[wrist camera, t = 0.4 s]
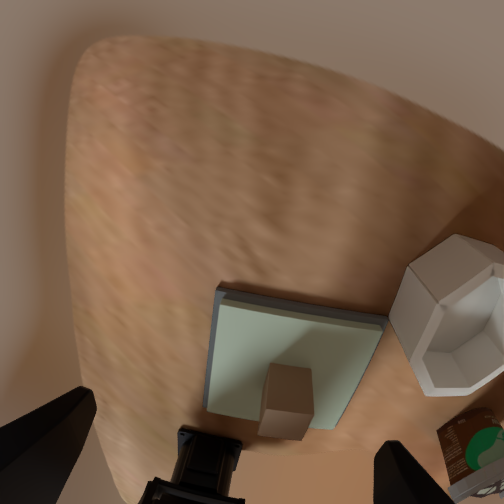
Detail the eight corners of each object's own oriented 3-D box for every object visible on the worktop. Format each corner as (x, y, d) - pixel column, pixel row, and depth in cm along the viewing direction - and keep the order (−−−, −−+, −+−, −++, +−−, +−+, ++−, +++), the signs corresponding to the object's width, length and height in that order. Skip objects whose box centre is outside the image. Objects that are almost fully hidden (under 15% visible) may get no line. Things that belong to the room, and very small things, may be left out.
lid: (332, 423, 24) (336, 470, 19) (208, 404, 25) (195, 452, 20) (379, 325, 20) (399, 374, 15) (222, 298, 21) (204, 346, 16)
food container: (514, 409, 24) (544, 466, 15) (480, 441, 26) (502, 498, 17) (470, 390, 23) (507, 466, 13) (428, 428, 25) (452, 504, 16)
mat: (335, 422, 25) (335, 426, 24) (203, 402, 25) (202, 406, 25) (386, 316, 20) (388, 320, 20) (217, 286, 21) (215, 290, 20)
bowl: (468, 356, 21) (492, 394, 17) (374, 348, 22) (389, 395, 17) (516, 252, 18) (554, 279, 13) (420, 223, 18) (456, 252, 13)
